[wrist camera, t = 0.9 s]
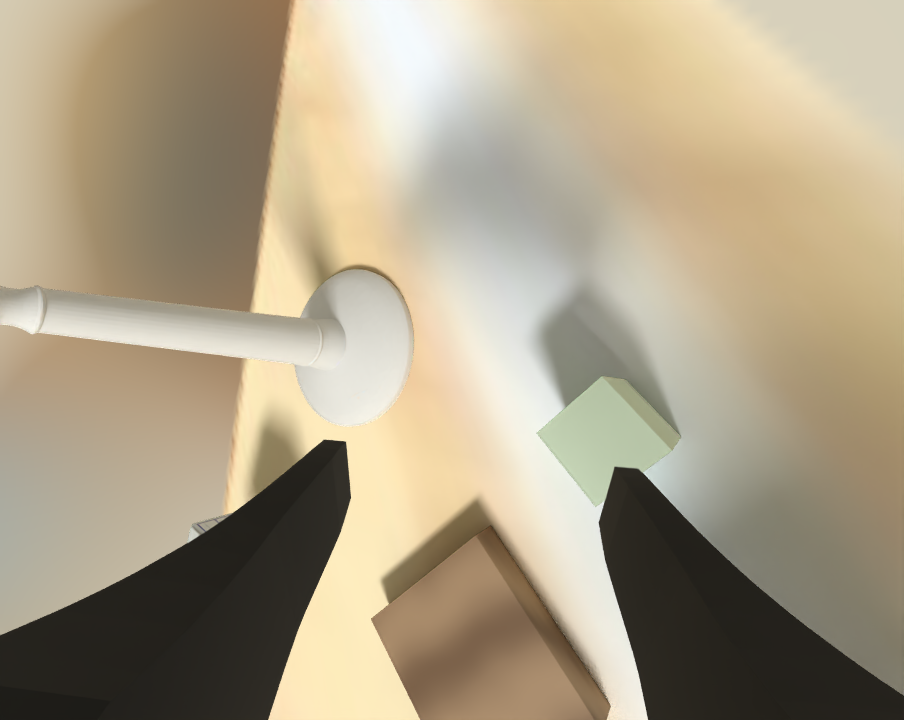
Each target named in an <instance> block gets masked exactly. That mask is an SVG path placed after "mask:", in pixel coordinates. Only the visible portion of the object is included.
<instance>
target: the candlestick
mask: <svg viewBox="0 0 904 720" xmlns="http://www.w3.org/2000/svg"><path fill="white" fill-rule="evenodd" d="M0 325H12V326H16V327H19V328H21V329H24V330H26V331H27V332H29V333H31V334H35V333H37V332H38V333H46V334H54V335H55V334H56V335H62V336H71V337H78V338H87V339H95V340H103V341H112V342H119V343H127V344H135V345H143V346H151V347H159V348H167V349H175V350H183V351H192V352H199V353H200V352H201V353H208V354H216V355H224V356H232V357H240V358H248V359H256V360H264V361H272V362H280V363H287V364H294V365H295V371H296V375H297V379H298V383H299V386H300V388H301V391H302V393H303V395H304V397H305V399H306V400H307V402H308V403H309V405H310V406H311V407H312V409H313V410H314V411H315V412H316V413H317V414H318V415H319V416H320V417H322V418H323V419H325V420H326V421H328V422H330V423H333V424H336V425H339V426H359V425H364V424H367V423H370V422H372V421H374V420H376V419H378V418H379V417H381V416H382V415H383V414H384V413H386V412H387V411H388V410H389V409H390V408H391V406H392V405H393V404H394V403H395V402H396V400H397V399H398V397H399V396H400V394H401V392H402V390H403V388H404V386H405V384H406V382H407V379H408V376H409V373H410V370H411V365H412V360H413V353H414V332H413V325H412V320H411V316H410V313H409V310H408V307H407V305H406V303H405V301H404V299H403V297H402V295H401V294H400V292H399V291H398V290H397V288H396V287H395V286H394V285H393V284H392V283H391V282H390V281H388V280H387V279H386V278H384V277H383V276H381V275H379V274H376V273H373V272H371V271H367V270H362V269H352V270H346V271H343V272H340V273H338V274H336V275H334V276H332V277H330V278H329V279H328V280H326V281H325V282H324V283H323V284H322V285H321V286H320V287H319V288H318V289H317V290H316V291H315V292H314V294H313V295H312V296H311V298H310V299H309V301H308V303H307V304H306V306H305V308H304V310H303V312H302V314H301V317H300V318H295V317H286V316H277V315H268V314H260V313H251V312H243V311H234V310H225V309H217V308H208V307H200V306H191V305H181V304H173V303H164V302H156V301H148V300H139V299H131V298H122V297H113V296H104V295H96V294H88V293H79V292H70V291H61V290H53V289H44V288H42V287H40V286H34V287H30V288H26V289H12V288H6V287H2V286H0Z"/></svg>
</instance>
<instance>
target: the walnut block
mask: <svg viewBox="0 0 904 720" xmlns="http://www.w3.org/2000/svg"><path fill="white" fill-rule="evenodd" d="M371 620H372V622H373V624H374V626H375V628H376V630H377V632H378V634H379V636H380V639H381V641H382V643H383V645H384V647H385V649H386V651H387V653H388V655H389V657H390V659H391V661H392V663H393V665H394V667H395V669H396V671H397V673H398V675H399V677H400V679H401V681H402V683H403V685H404V687H405V689H406V691H407V693H408V695H409V697H410V699H411V701H412V703H413V705H414V707H415V710H416V712H417V714H418V716H419V718H420V720H607V716H608V713H609V710H610V707H611V706H610V704H609V703H608V701H607V700H606V698H605V697H604V695H603V694H602V692H601V691H600V689H599V688H598V686H597V685H596V683H595V682H594V680H593V679H592V677H591V676H590V674H589V673H588V671H587V670H586V668H585V667H584V665H583V664H582V662H581V661H580V659H579V658H578V656H577V655H576V653H575V652H574V650H573V649H572V647H571V646H570V644H569V643H568V641H567V640H566V638H565V637H564V635H563V634H562V632H561V631H560V629H559V628H558V626H557V625H556V623H555V622H554V620H553V619H552V617H551V616H550V614H549V613H548V611H547V609H546V608H545V606H544V605H543V603H542V602H541V600H540V599H539V597H538V596H537V594H536V593H535V591H534V590H533V588H532V587H531V585H530V584H529V582H528V581H527V579H526V578H525V576H524V575H523V573H522V572H521V570H520V569H519V567H518V566H517V564H516V563H515V561H514V560H513V558H512V557H511V555H510V554H509V552H508V551H507V549H506V548H505V546H504V545H503V543H502V542H501V540H500V539H499V537H498V536H497V534H496V533H495V531H494V530H493V528H492V527H491V526H490V527H488V528H486V529H485V530H483V531H482V532H480V533H478V534H477V535H475V536H474V537H473V538H472V539H470V540H469V541H468V542H467V543H465V544H464V545H463V546H462V547H460V548H459V549H458V550H457V551H455V552H454V553H453V554H452V555H450V556H449V557H448V558H447V559H445V560H444V561H443V562H442V563H440V564H439V565H438V566H437V567H435V568H434V569H433V570H431V571H430V572H429V573H428V574H426V575H425V576H424V577H423V578H421V579H420V580H419V581H418V582H416V583H415V584H414V585H413V586H411V587H410V588H409V589H408V590H406V591H405V592H404V593H403V594H401V595H400V596H399V597H398V598H396V599H395V600H394V601H393V602H391V603H390V604H389V605H388V606H386V607H385V608H384V609H383V610H381V611H380V612H379V613H378V614H376V615H375V616H374V617H373V618H371Z"/></svg>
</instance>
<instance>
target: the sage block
mask: <svg viewBox="0 0 904 720" xmlns="http://www.w3.org/2000/svg"><path fill="white" fill-rule="evenodd" d="M537 434H538V436H539V437H540V438H541V439H542V441H543V442H544V443H545V444H546V446H547V447H548V448H549V449H550V451H551V452H552V453H553V454H554V456H555V457H556V458H557V459H558V461H559V462H560V463H561V464H562V466H563V467H564V468H565V469H566V471H567V472H568V473H569V474H570V476H571V477H572V478H573V479H574V481H575V482H576V483H577V484H578V486H579V487H580V488H581V489H582V491H583V492H584V493H585V494H586V496H587V497H588V498H589V499H590V501H591V502H592V503H593V504H594V506H595V507H596V506H598V505H599V504H601V503H602V502H603V501H605V499H606V495H607V492H608V488H609V485H610V481H611V478H612V474H613V471H614V467H615V466H616V467H626V468H637V469H639V470H640V471H641V472H642V473H643V472H644V471H645V470H647V469H648V468H649V467H651V466H652V465H654V464H655V463H656V462H658V461H659V460H660V459H662V458H663V457H664V456H666V455H667V454H669V453H670V452H671V451H672V450H673V449H674V447H675V446H676V444H677V442H678V441H679V439H680V438H681V436H680V435H679V434H678V433H677V432H676V431H675V430H674V429H673V428H672V427H671V426H670V425H669V424H668V423H667V422H666V421H665V420H664V419H663V418H662V417H661V416H660V415H659V413H658V412H657V411H656V410H655V409H654V408H653V407H652V406H651V405H650V404H649V403H648V402H647V401H646V400H645V399H644V398H643V397H642V396H641V395H640V394H639V393H638V392H637V391H636V390H635V389H634V388H633V387H632V386H631V385H630V384H629V383H628V381H627V380H626V379H619V378H612V377H605V376H601V377H600V378H599V379H598V380H597V381H596V382H594V383H593V384H592V385H591V386H590V387H589V388H588V389H586V390H585V391H584V392H583V393H582V394H581V395H580V396H578V397H577V398H576V399H575V400H574V401H573V402H571V403H570V404H569V405H568V406H567V407H566V408H565V409H563V410H562V411H561V412H560V413H559V414H558V415H557V416H555V417H554V418H553V419H552V420H551V421H550V422H549V423H547V424H546V425H545V426H544V427H543V428H542V429H541V430H539V431H538V432H537Z"/></svg>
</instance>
